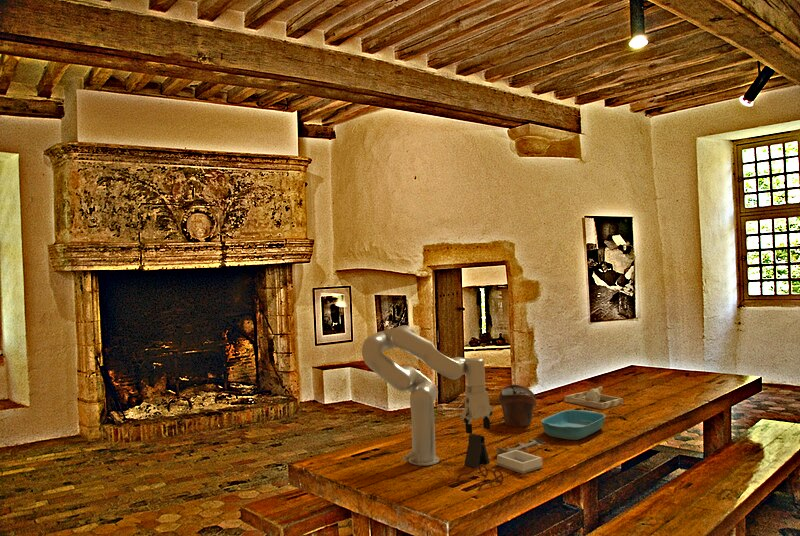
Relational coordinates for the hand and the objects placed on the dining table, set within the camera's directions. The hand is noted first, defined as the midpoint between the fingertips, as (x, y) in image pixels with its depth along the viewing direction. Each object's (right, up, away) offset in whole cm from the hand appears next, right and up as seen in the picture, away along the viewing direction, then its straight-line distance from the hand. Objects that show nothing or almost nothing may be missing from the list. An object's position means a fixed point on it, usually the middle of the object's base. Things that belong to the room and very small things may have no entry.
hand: (478, 430), depth 282 cm
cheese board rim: (+75, -8, +102) cm, 127 cm away
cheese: (+75, -9, +103) cm, 128 cm away
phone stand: (0, -14, +1) cm, 14 cm away
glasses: (-2, -15, -20) cm, 25 cm away
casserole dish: (+50, -11, +45) cm, 68 cm away
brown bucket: (+27, -11, +62) cm, 68 cm away
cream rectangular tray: (+16, -13, -3) cm, 21 cm away
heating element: (+21, -13, +19) cm, 31 cm away
